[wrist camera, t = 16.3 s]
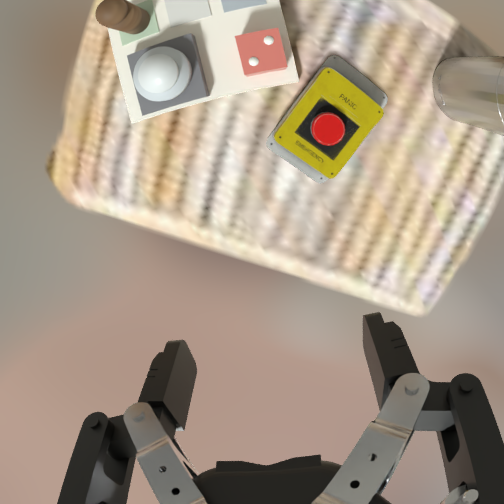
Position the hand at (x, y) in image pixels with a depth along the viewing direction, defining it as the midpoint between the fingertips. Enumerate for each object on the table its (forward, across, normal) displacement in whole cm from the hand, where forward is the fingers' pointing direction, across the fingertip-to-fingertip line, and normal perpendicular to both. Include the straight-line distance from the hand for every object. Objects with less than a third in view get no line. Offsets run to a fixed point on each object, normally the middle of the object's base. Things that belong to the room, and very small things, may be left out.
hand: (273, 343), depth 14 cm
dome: (+28, +9, -15) cm, 33 cm away
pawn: (+28, +12, -24) cm, 39 cm away
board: (+30, +5, -19) cm, 36 cm away
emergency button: (+31, -8, -5) cm, 32 cm away
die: (+29, -2, -14) cm, 32 cm away
